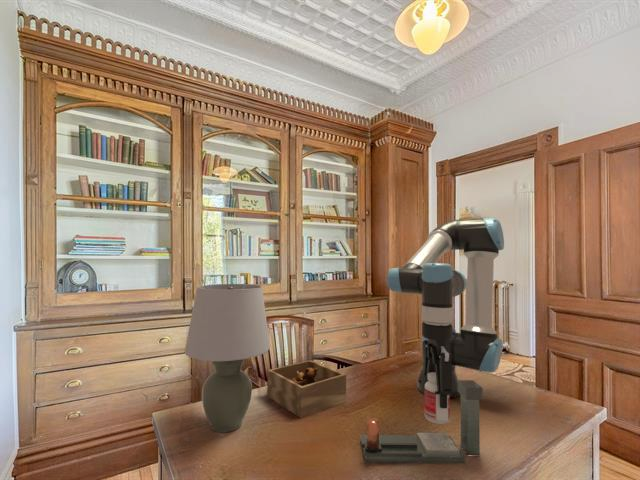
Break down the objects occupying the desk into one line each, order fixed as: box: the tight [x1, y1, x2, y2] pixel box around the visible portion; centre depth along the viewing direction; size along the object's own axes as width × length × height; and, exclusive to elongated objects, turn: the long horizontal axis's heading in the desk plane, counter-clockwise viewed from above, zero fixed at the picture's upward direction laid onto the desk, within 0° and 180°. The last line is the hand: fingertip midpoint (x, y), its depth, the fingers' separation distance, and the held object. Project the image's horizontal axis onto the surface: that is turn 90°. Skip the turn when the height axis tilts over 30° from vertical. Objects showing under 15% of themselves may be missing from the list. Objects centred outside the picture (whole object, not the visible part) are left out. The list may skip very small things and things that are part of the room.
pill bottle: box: [423, 372, 451, 425], centre depth 86 cm, size 6×6×11 cm
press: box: [360, 379, 483, 464], centre depth 85 cm, size 30×10×17 cm, turn 91°
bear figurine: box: [292, 367, 317, 386], centre depth 115 cm, size 14×15×12 cm
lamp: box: [184, 283, 271, 433], centre depth 98 cm, size 24×24×40 cm
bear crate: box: [266, 359, 347, 419], centre depth 115 cm, size 20×19×9 cm
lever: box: [364, 417, 382, 452], centre depth 82 cm, size 4×3×7 cm
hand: (436, 413), depth 86 cm, fingers closed on pill bottle, 6 cm apart
